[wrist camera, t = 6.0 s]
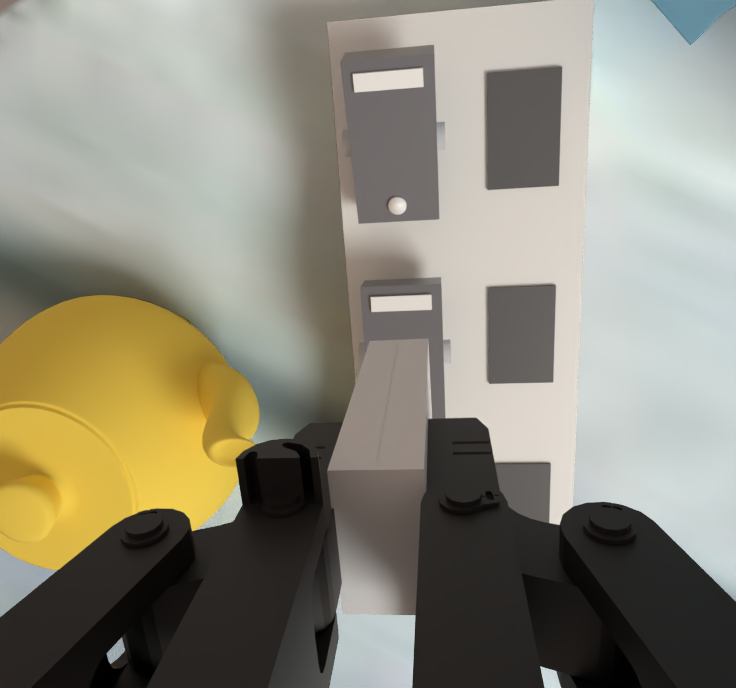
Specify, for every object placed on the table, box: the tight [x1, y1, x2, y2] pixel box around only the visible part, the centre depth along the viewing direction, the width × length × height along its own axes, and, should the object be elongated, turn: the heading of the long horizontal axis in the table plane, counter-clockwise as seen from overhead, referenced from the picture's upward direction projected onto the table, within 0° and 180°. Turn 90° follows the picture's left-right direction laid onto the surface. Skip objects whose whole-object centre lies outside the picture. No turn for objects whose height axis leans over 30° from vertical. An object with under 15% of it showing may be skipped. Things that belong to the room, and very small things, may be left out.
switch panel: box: [327, 0, 594, 525], centre depth 28 cm, size 10×26×4 cm, turn 4°
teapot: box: [0, 295, 260, 570], centre depth 29 cm, size 20×15×12 cm
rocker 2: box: [358, 277, 451, 419], centre depth 26 cm, size 4×6×2 cm, turn 4°
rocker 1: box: [340, 45, 445, 224], centre depth 23 cm, size 4×6×2 cm, turn 4°
